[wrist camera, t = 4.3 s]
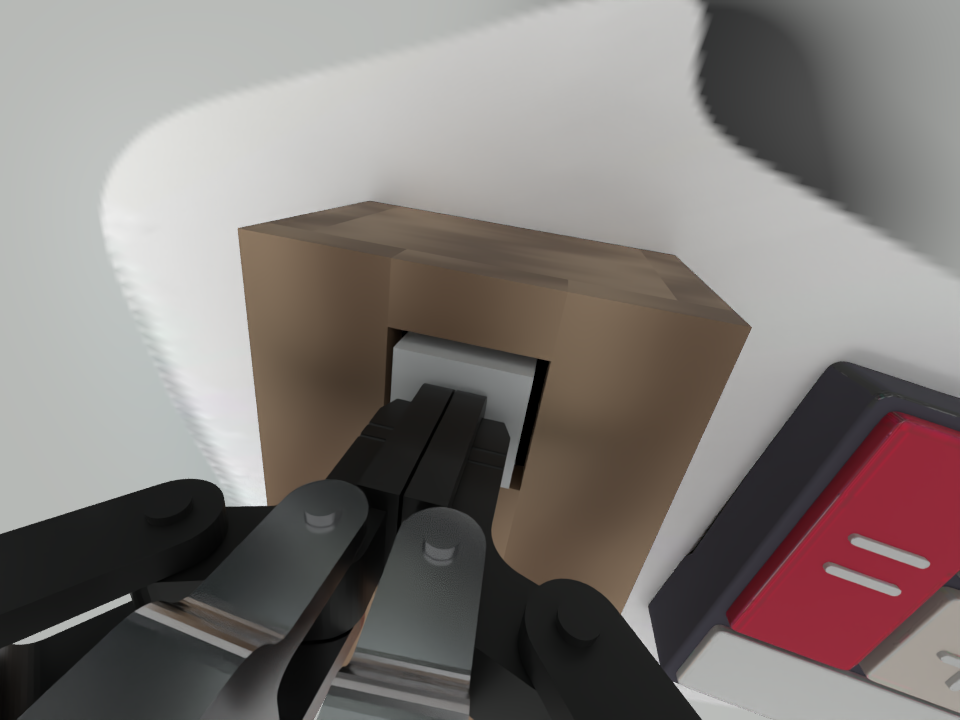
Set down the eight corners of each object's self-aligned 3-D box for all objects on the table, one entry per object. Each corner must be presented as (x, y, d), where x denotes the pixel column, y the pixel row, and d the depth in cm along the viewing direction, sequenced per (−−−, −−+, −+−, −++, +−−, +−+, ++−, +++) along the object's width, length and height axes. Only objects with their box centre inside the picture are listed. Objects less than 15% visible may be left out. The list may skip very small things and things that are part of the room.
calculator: (1311, 535, 12) (921, 794, 18) (1120, 446, 15) (855, 683, 22) (902, 400, 12) (661, 697, 18) (819, 347, 16) (644, 606, 22)
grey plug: (549, 290, 16) (534, 377, 9) (532, 367, 17) (508, 489, 11) (463, 273, 16) (393, 347, 10) (453, 351, 17) (386, 458, 11)
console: (675, 255, 15) (751, 327, 8) (562, 583, 22) (558, 749, 16) (369, 200, 16) (237, 228, 10) (361, 529, 23) (284, 664, 17)
